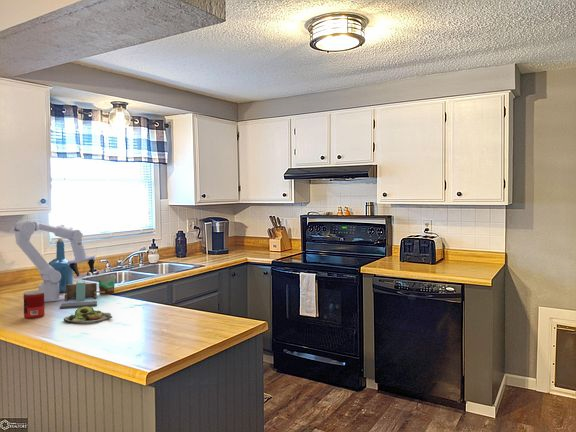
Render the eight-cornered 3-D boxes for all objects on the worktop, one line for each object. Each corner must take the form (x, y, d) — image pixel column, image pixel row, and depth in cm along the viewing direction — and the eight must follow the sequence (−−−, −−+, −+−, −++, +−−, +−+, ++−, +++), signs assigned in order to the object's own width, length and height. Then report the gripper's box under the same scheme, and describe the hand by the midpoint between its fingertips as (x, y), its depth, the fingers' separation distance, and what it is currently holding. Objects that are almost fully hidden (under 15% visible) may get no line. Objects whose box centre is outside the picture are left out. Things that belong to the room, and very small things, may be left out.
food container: (108, 295, 249) (107, 277, 249) (97, 294, 251) (97, 276, 250) (120, 291, 262) (120, 273, 261) (110, 290, 263) (110, 273, 263)
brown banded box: (64, 301, 234) (64, 287, 234) (66, 297, 243) (65, 284, 243) (96, 298, 240) (96, 285, 240) (96, 295, 248) (96, 282, 248)
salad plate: (124, 316, 202) (124, 306, 202) (95, 326, 185) (95, 315, 185) (88, 313, 208) (88, 303, 208) (57, 323, 191) (57, 312, 191)
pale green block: (76, 300, 235) (76, 283, 235) (77, 297, 243) (77, 280, 243) (84, 300, 237) (84, 282, 237) (85, 297, 244) (85, 280, 244)
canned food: (48, 315, 204) (48, 290, 203) (33, 319, 196) (32, 294, 196) (35, 314, 206) (35, 289, 206) (19, 318, 198) (19, 293, 198)
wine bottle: (78, 289, 268) (78, 238, 267) (63, 293, 255) (63, 239, 254) (57, 288, 270) (57, 237, 269) (41, 292, 257) (41, 239, 256)
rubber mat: (60, 308, 216) (60, 306, 216) (61, 305, 224) (61, 303, 224) (96, 306, 222) (96, 304, 222) (97, 302, 230) (96, 300, 230)
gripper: (94, 246, 252) (100, 269, 255) (67, 251, 251) (74, 274, 254) (91, 249, 245) (97, 273, 248) (63, 255, 244) (70, 279, 247)
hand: (85, 274), depth 251 cm, fingers open, 7 cm apart
